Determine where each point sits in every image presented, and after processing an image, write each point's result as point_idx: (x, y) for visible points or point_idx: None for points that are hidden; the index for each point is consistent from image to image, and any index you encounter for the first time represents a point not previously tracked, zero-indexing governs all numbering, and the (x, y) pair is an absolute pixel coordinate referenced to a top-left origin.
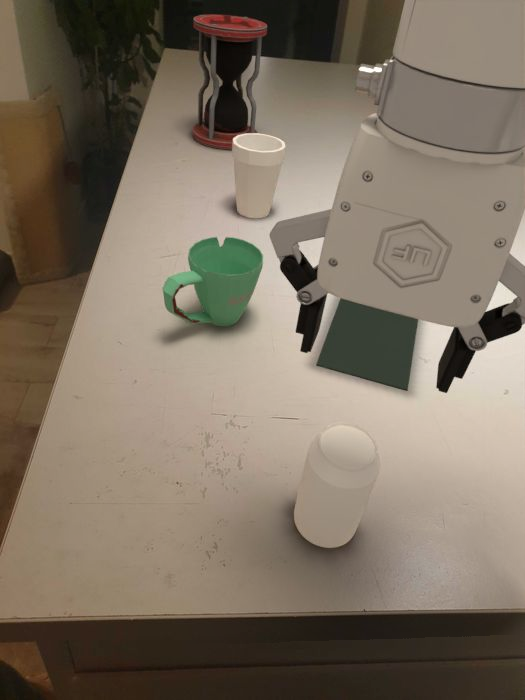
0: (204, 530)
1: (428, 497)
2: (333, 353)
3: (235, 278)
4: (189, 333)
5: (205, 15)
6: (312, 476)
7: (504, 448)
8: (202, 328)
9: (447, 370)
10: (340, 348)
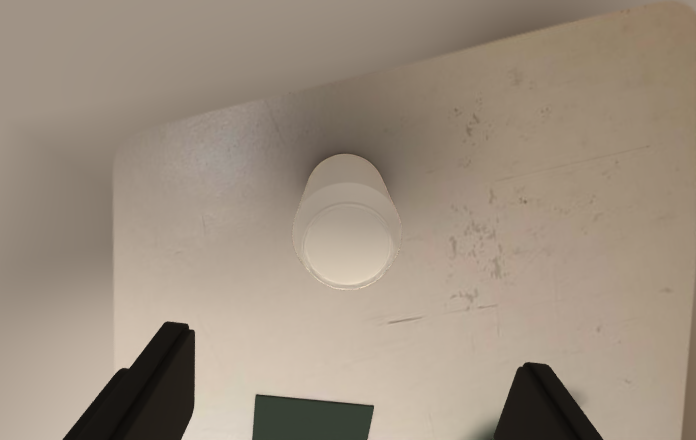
0: (484, 147)
1: (222, 251)
2: (353, 428)
3: None
4: None
5: None
6: (389, 198)
7: (132, 339)
8: None
9: (155, 376)
10: (345, 438)
